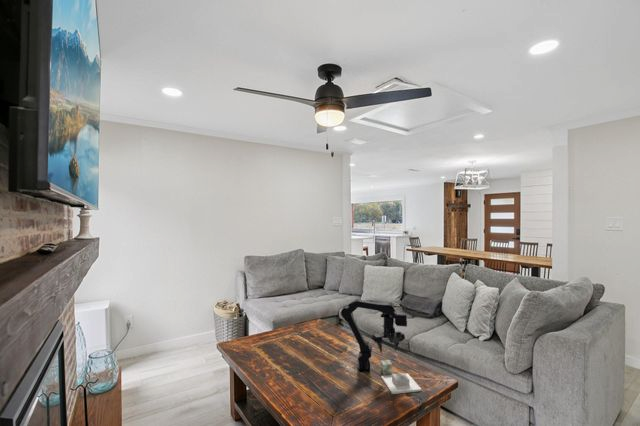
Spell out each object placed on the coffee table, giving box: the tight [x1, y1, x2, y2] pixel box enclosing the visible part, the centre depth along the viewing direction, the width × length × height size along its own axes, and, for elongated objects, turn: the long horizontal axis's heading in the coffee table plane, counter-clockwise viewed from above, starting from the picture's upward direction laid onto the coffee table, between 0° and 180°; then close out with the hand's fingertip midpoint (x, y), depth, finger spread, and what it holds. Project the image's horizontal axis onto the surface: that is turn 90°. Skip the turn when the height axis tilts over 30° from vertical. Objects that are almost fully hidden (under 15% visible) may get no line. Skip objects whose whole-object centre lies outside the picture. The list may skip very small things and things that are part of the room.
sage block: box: [380, 359, 393, 376], centre depth 184 cm, size 5×5×6 cm
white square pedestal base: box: [381, 372, 422, 395], centre depth 171 cm, size 16×16×4 cm
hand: (388, 351), depth 185 cm, fingers open, 9 cm apart
